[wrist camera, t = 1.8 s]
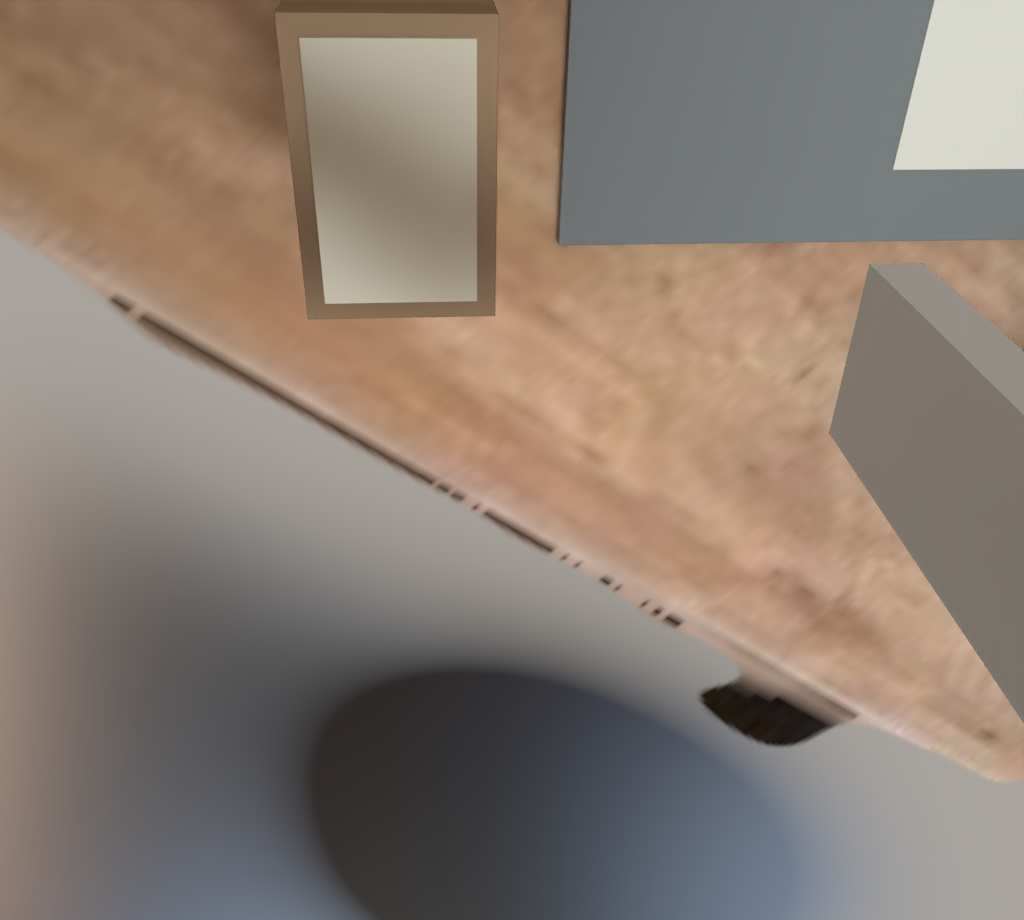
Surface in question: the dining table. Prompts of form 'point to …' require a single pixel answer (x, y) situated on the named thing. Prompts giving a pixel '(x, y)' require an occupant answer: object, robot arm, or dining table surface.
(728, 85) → the mat
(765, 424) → the dining table surface
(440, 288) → the walnut block
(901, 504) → the robot arm
